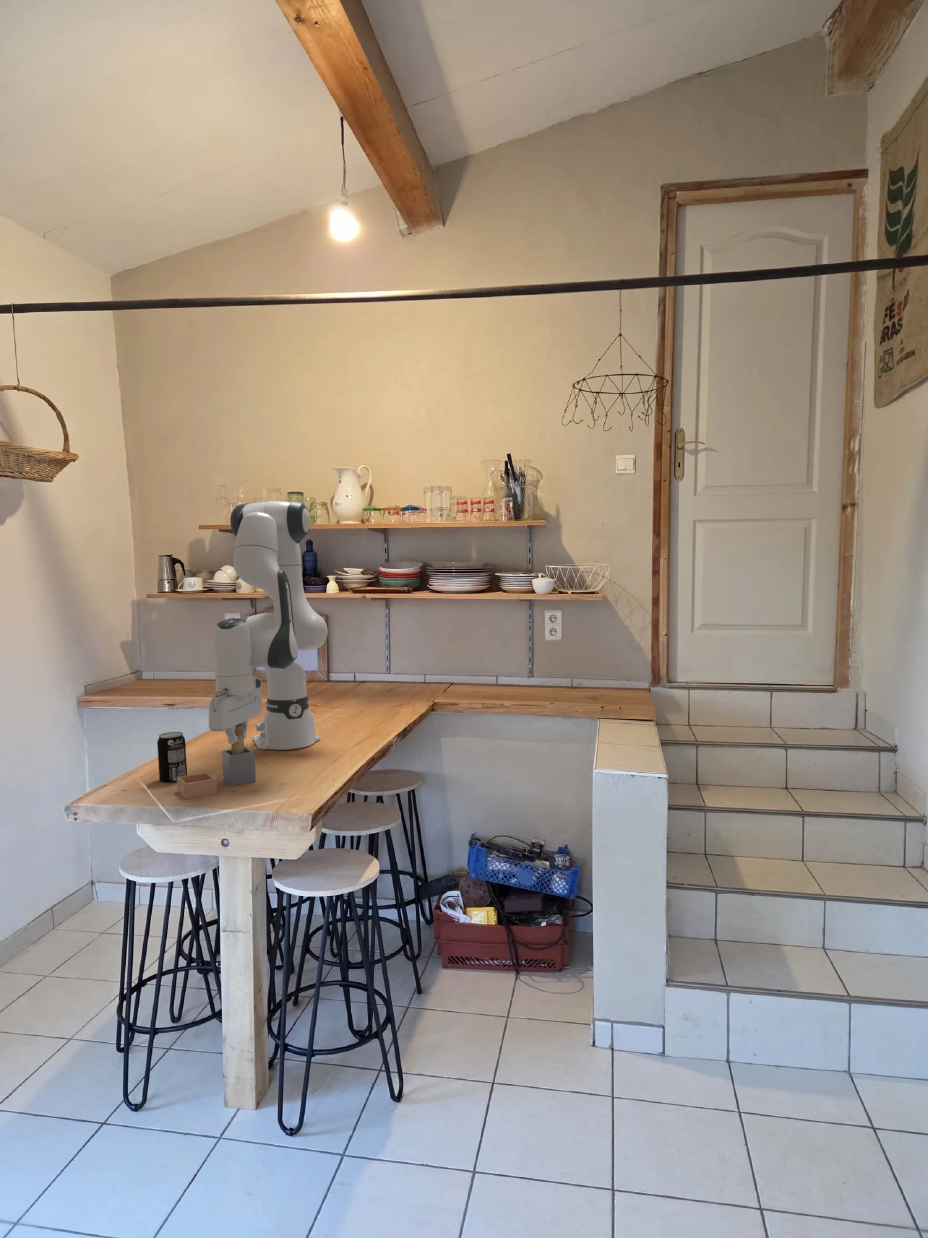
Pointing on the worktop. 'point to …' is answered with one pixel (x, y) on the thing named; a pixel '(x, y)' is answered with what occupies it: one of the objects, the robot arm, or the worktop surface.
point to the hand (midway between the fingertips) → (237, 741)
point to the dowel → (238, 746)
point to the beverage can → (171, 756)
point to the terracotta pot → (196, 785)
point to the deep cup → (238, 767)
